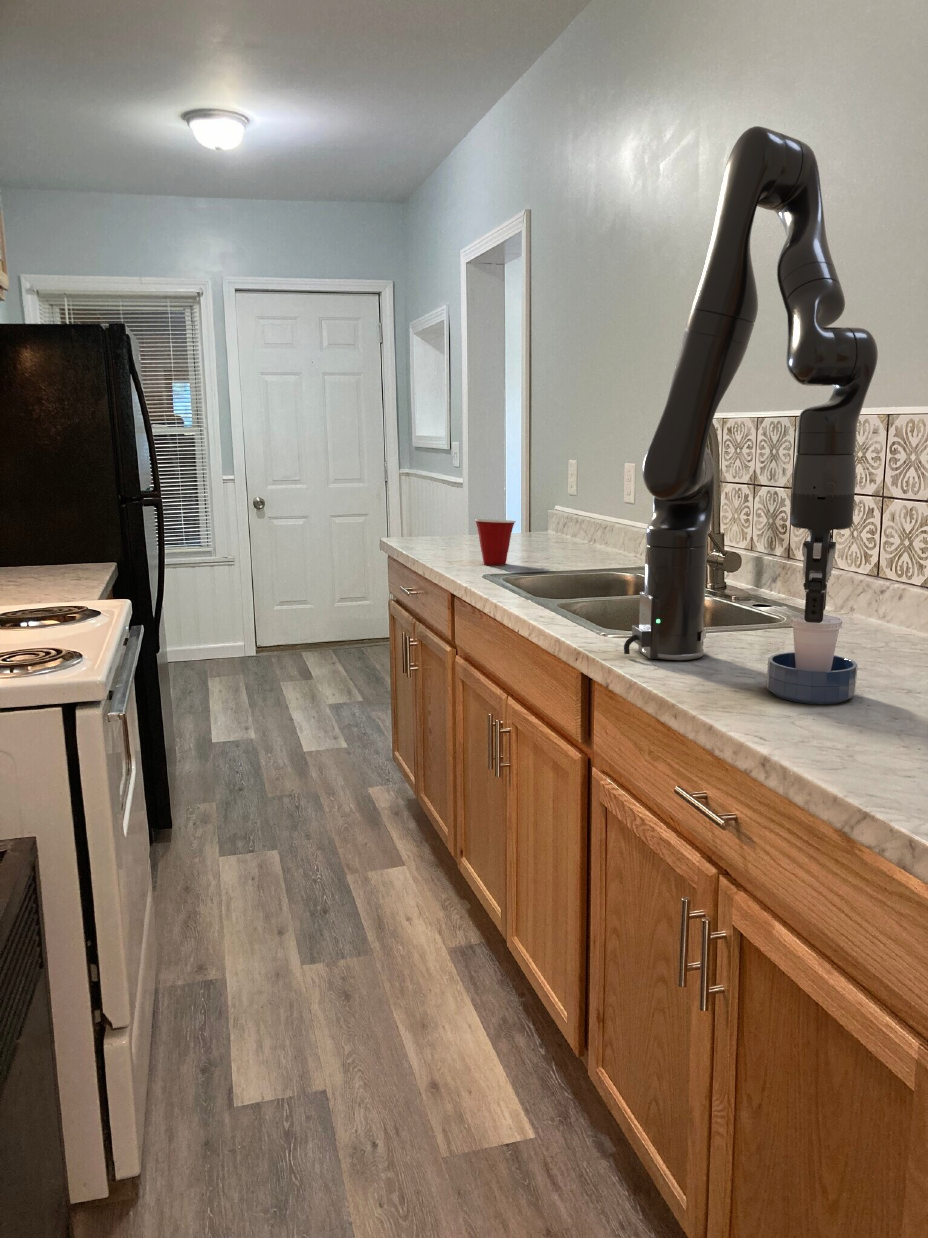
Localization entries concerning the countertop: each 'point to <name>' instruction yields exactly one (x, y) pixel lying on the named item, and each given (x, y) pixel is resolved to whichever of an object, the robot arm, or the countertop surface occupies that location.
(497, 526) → the plastic cup
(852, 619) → the countertop surface
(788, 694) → the bowl
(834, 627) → the smoothie
